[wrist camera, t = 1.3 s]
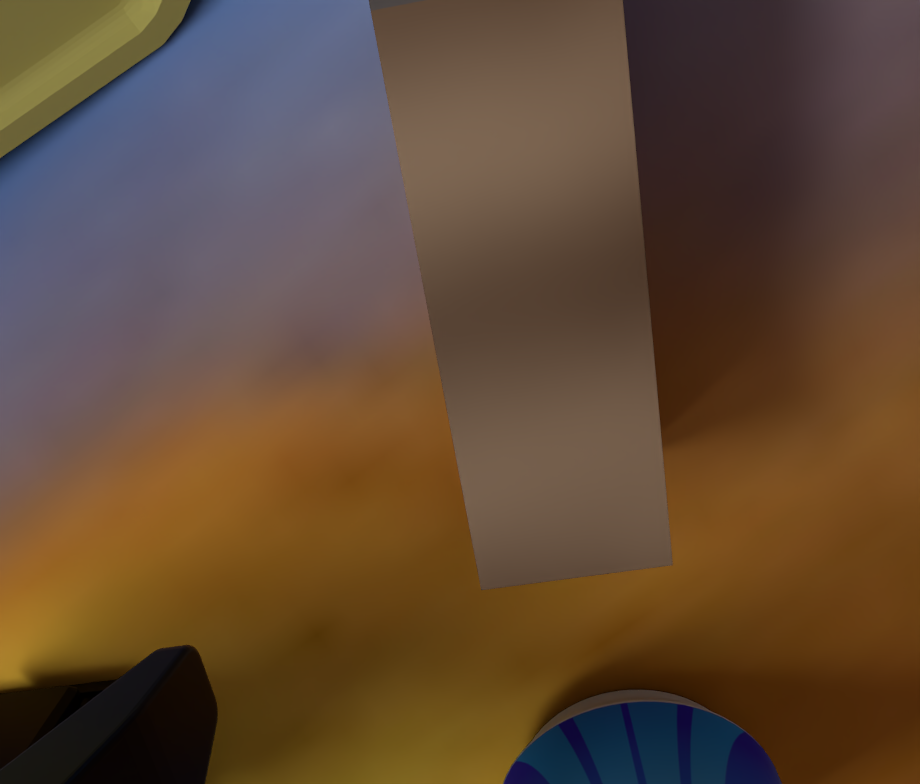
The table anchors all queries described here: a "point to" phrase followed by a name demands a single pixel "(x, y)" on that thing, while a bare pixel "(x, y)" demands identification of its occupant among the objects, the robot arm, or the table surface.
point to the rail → (533, 276)
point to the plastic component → (70, 54)
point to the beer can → (641, 745)
